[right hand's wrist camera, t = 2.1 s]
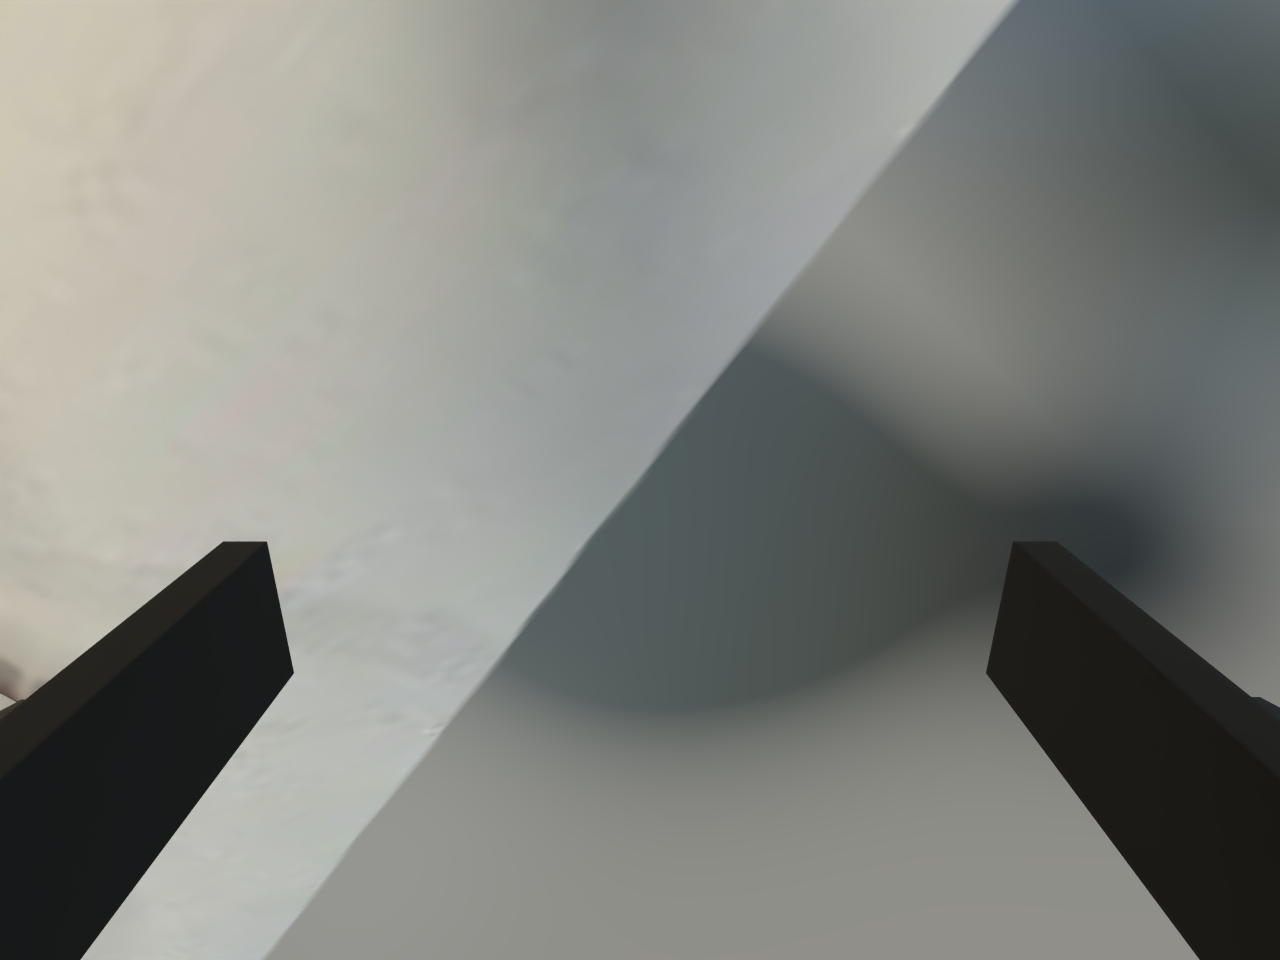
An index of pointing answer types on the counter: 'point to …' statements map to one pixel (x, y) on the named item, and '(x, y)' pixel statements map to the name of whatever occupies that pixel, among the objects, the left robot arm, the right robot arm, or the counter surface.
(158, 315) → the counter surface
